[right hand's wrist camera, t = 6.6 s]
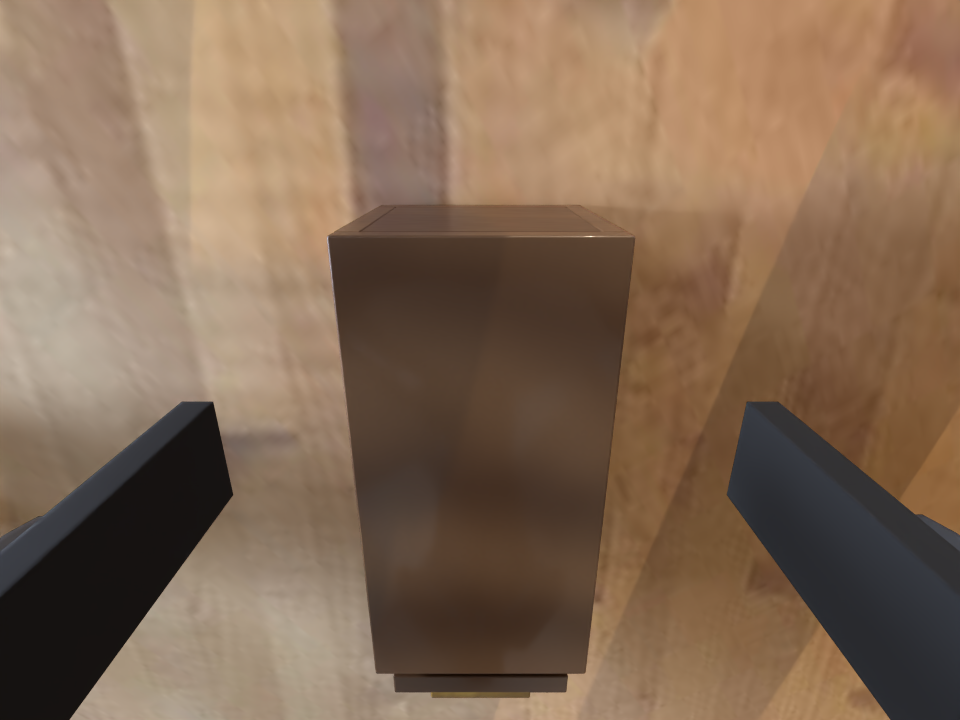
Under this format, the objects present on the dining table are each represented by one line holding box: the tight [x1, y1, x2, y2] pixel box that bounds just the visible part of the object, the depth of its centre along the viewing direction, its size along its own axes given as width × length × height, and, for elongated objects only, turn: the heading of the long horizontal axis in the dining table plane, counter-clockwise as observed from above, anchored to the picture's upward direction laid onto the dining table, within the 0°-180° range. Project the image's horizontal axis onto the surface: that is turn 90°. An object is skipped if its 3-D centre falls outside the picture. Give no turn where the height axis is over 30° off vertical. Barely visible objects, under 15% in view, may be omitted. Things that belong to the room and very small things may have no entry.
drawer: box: [394, 674, 568, 698], centre depth 27 cm, size 25×9×8 cm, turn 0°
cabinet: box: [327, 205, 635, 674], centre depth 25 cm, size 21×10×10 cm, turn 0°
